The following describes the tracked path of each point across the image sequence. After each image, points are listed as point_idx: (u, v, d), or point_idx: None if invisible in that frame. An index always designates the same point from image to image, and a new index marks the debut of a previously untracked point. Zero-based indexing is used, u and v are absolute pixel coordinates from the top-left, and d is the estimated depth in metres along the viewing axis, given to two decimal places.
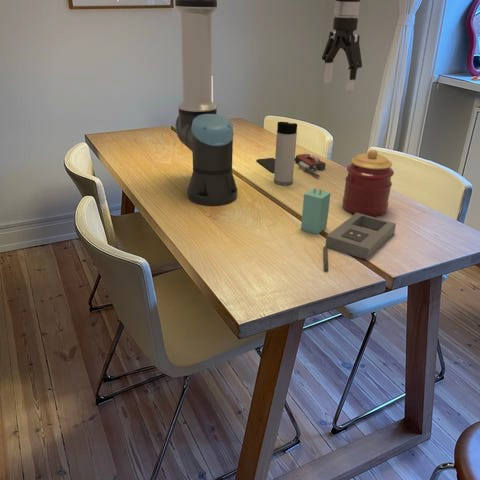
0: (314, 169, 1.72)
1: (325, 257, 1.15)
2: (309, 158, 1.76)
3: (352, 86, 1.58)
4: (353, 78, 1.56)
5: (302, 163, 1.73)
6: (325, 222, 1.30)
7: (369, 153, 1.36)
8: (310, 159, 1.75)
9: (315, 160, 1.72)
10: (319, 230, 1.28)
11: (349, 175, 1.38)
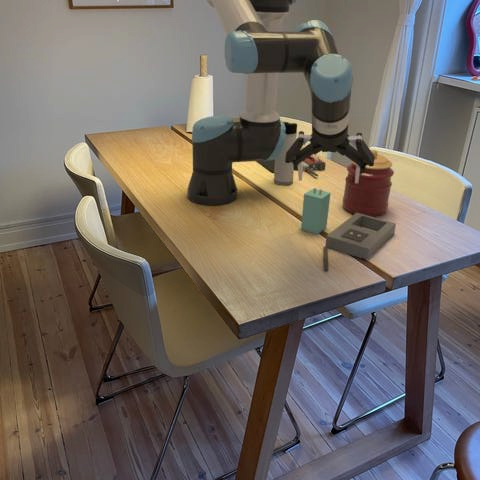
0: (314, 168, 1.72)
1: (325, 257, 1.15)
2: (309, 157, 1.76)
3: None
4: None
5: (302, 162, 1.74)
6: (325, 222, 1.30)
7: None
8: (310, 158, 1.75)
9: (315, 159, 1.72)
10: (319, 230, 1.28)
11: (349, 175, 1.38)
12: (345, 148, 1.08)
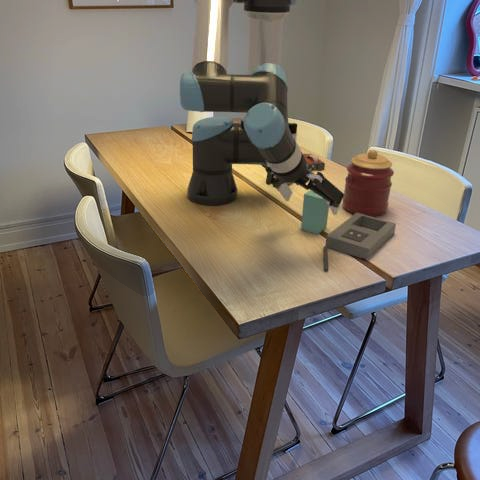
0: (313, 168, 1.72)
1: (325, 257, 1.15)
2: (309, 158, 1.77)
3: None
4: None
5: None
6: (325, 222, 1.30)
7: (369, 153, 1.36)
8: (310, 159, 1.76)
9: (314, 160, 1.72)
10: (319, 230, 1.28)
11: (349, 175, 1.38)
12: (310, 183, 1.11)
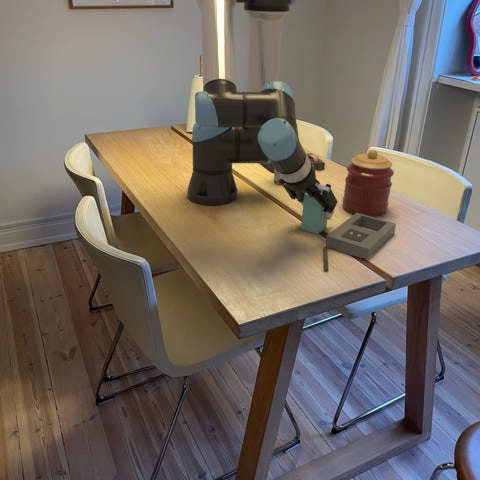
0: None
1: (325, 257, 1.15)
2: (310, 157, 1.77)
3: None
4: None
5: None
6: (325, 222, 1.30)
7: (369, 153, 1.36)
8: (310, 158, 1.76)
9: (314, 159, 1.72)
10: (319, 230, 1.28)
11: (349, 175, 1.38)
12: (315, 192, 1.19)
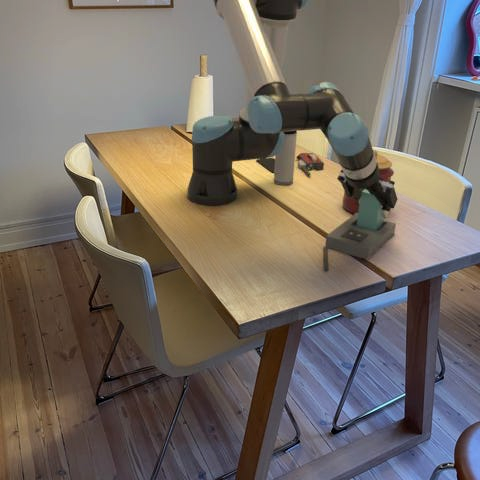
0: (311, 168, 1.73)
1: (325, 257, 1.15)
2: (310, 157, 1.77)
3: None
4: None
5: (300, 161, 1.75)
6: (381, 221, 1.26)
7: None
8: (310, 158, 1.76)
9: (313, 159, 1.73)
10: (376, 229, 1.24)
11: None
12: (376, 189, 1.16)
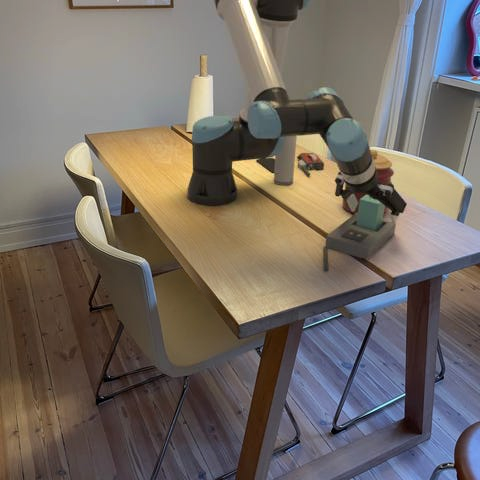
0: (311, 168, 1.73)
1: (325, 257, 1.15)
2: (310, 157, 1.77)
3: None
4: None
5: (301, 161, 1.75)
6: (379, 228, 1.27)
7: None
8: (310, 158, 1.76)
9: (313, 159, 1.73)
10: None
11: None
12: (377, 193, 1.15)
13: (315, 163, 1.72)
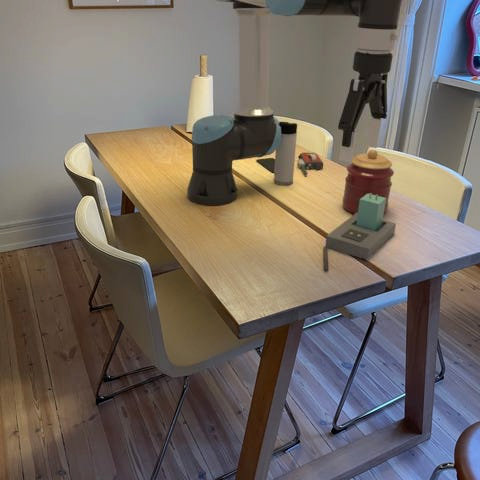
0: (310, 167, 1.73)
1: (325, 257, 1.15)
2: None
3: (348, 156, 1.02)
4: (344, 144, 1.00)
5: (300, 160, 1.76)
6: (379, 228, 1.27)
7: (369, 153, 1.36)
8: None
9: (312, 158, 1.73)
10: None
11: (349, 175, 1.38)
12: None
13: (314, 163, 1.73)
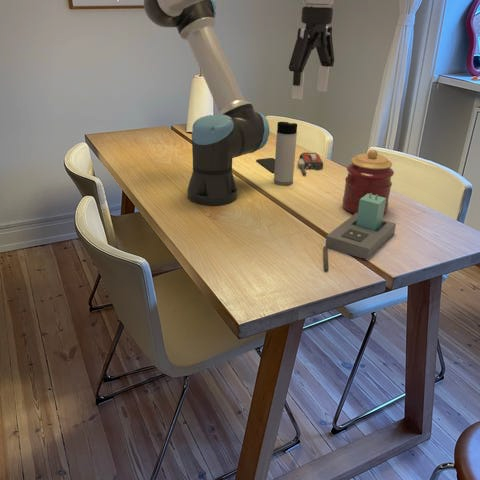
0: (309, 167, 1.73)
1: (325, 257, 1.15)
2: None
3: (299, 94, 1.24)
4: (295, 83, 1.22)
5: (300, 160, 1.76)
6: (379, 228, 1.27)
7: (369, 153, 1.36)
8: None
9: (312, 158, 1.73)
10: None
11: (349, 175, 1.38)
12: (322, 42, 1.26)
13: (314, 163, 1.73)
